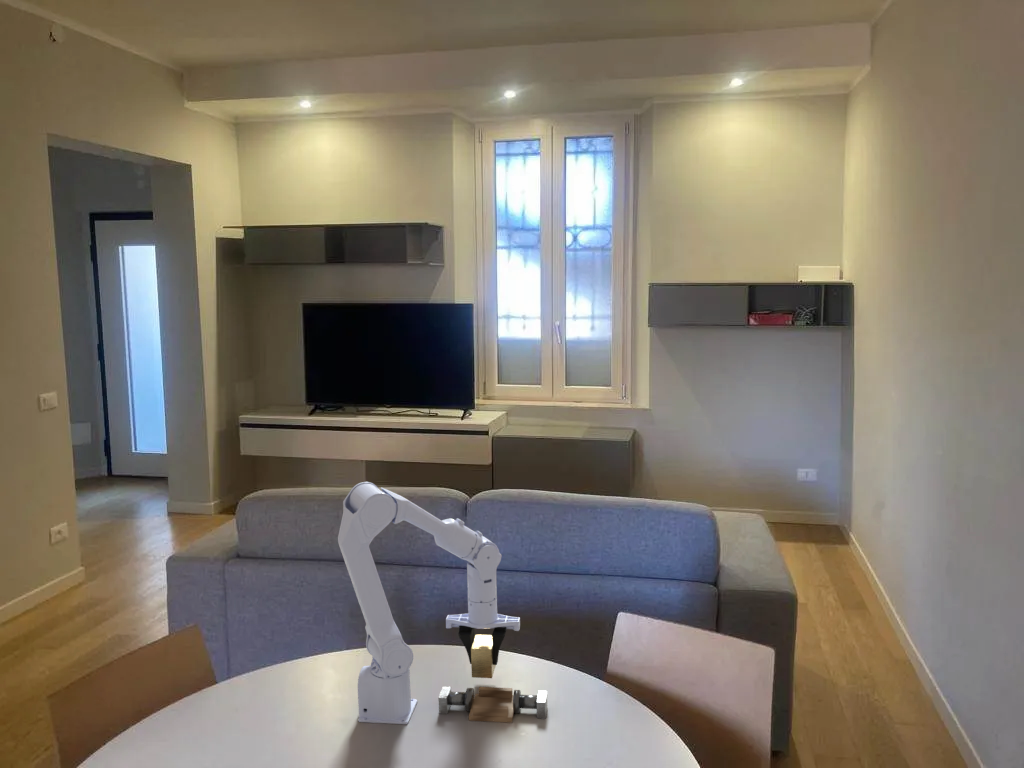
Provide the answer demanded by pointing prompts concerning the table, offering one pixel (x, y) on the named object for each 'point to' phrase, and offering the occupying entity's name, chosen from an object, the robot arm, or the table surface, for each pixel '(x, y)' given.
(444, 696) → the shaft stand
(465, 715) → the table surface
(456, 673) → the table surface
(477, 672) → the block
